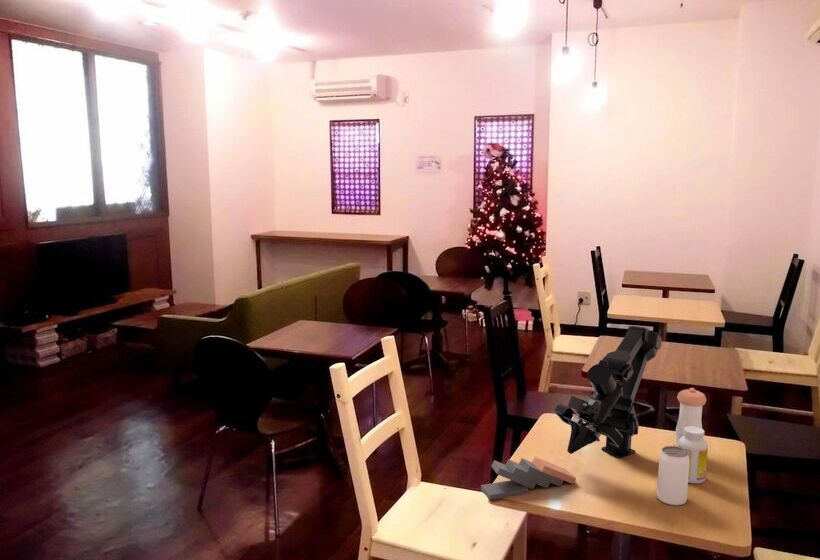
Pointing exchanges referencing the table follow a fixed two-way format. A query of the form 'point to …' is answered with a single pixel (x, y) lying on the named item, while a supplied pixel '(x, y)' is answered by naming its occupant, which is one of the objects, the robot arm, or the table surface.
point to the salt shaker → (689, 411)
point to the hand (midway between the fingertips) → (569, 452)
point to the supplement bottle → (695, 453)
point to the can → (673, 476)
